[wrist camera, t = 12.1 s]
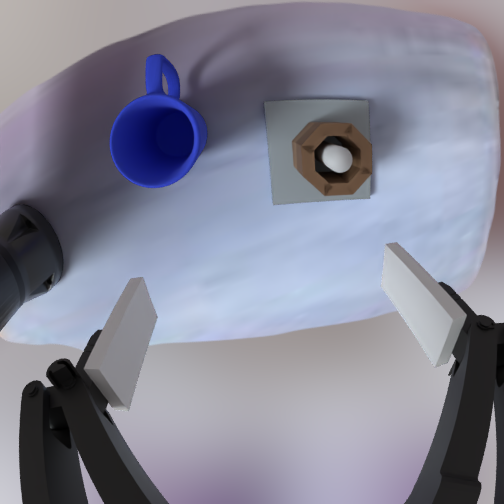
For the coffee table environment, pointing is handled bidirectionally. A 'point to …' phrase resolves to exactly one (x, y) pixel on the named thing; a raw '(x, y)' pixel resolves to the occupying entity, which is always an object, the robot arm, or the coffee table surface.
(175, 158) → the mug
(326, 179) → the ring
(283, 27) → the coffee table surface
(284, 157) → the square plate with peg
